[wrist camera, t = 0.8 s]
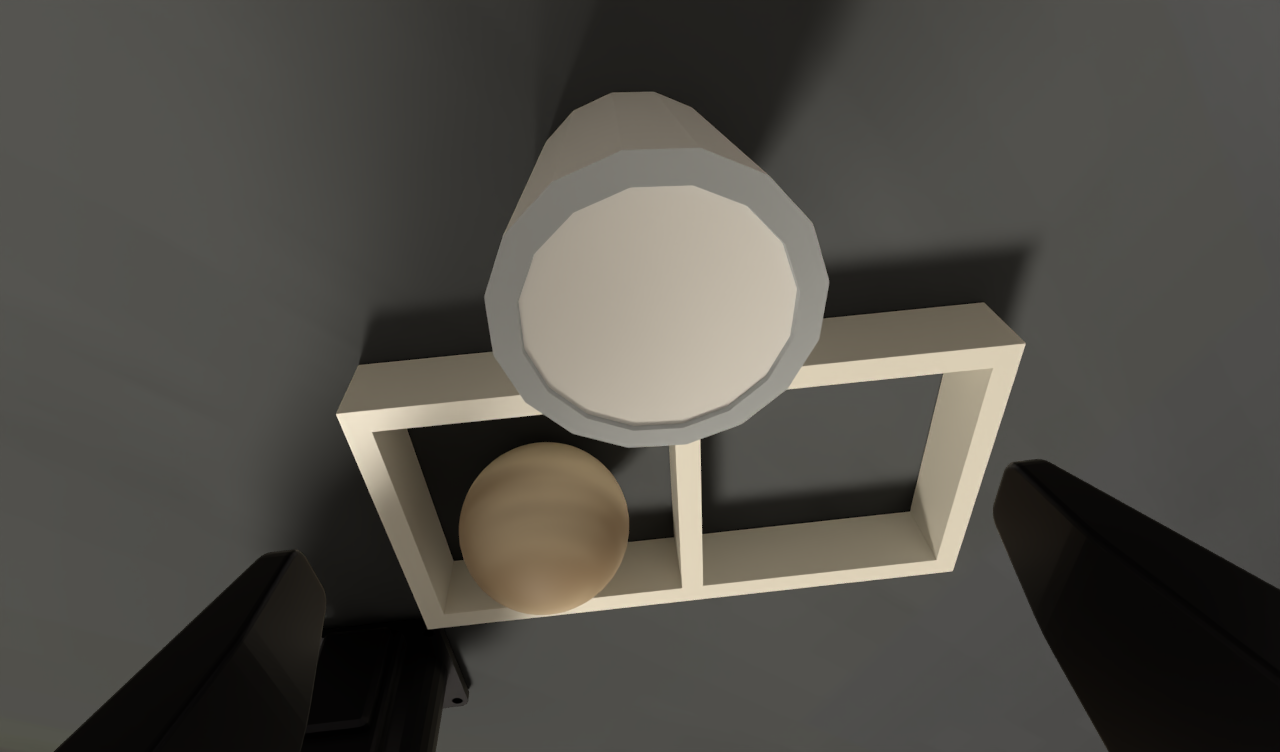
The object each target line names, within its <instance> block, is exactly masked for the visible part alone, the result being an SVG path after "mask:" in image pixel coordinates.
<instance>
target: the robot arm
mask: <svg viewBox="0 0 1280 752" xmlns="http://www.w3.org/2000/svg"><path fill="white" fill-rule="evenodd" d="M993 518H994V522H995V525H996V528H997V530H998V532H999V535H1000V537H1001V539H1002V542H1003V544H1004V546H1005V549H1006V551H1007V553H1008V556H1009V558H1010V560H1011V563H1012V565H1013V567H1014V570H1015V572H1016V574H1017V576H1018V579H1019V581H1020V583H1021V586H1022V588H1023V590H1024V593H1025V595H1026V597H1027V600H1028V602H1029V604H1030V607H1031V609H1032V611H1033V614H1034V616H1035V618H1036V620H1037V622H1038V624H1039V627H1040V629H1041V631H1042V633H1043V635H1044V637H1045V639H1046V641H1047V643H1048V644H1049V646H1050V648H1051V650H1052V652H1053V654H1054V655H1055V657H1056V659H1057V661H1058V663H1059V664H1060V666H1061V668H1062V670H1063V672H1064V673H1065V675H1066V677H1067V679H1068V680H1069V682H1070V684H1071V686H1072V688H1073V689H1074V691H1075V693H1076V695H1077V696H1078V698H1079V700H1080V702H1081V704H1082V705H1083V707H1084V709H1085V711H1086V712H1087V714H1088V716H1089V718H1090V720H1091V721H1092V723H1093V725H1094V727H1095V729H1096V730H1097V732H1098V734H1099V736H1100V737H1101V739H1102V741H1103V743H1104V745H1105V746H1106V748H1107V750H1108V752H1280V589H1278V588H1276V587H1274V586H1272V585H1271V584H1269V583H1267V582H1265V581H1263V580H1262V579H1260V578H1258V577H1256V576H1254V575H1253V574H1251V573H1249V572H1247V571H1245V570H1244V569H1242V568H1240V567H1238V566H1236V565H1234V564H1233V563H1231V562H1229V561H1227V560H1225V559H1224V558H1222V557H1220V556H1218V555H1216V554H1215V553H1213V552H1211V551H1209V550H1207V549H1206V548H1204V547H1202V546H1200V545H1198V544H1197V543H1195V542H1193V541H1191V540H1189V539H1188V538H1186V537H1184V536H1182V535H1180V534H1178V533H1177V532H1175V531H1173V530H1171V529H1169V528H1168V527H1166V526H1164V525H1162V524H1160V523H1159V522H1157V521H1155V520H1153V519H1151V518H1150V517H1148V516H1146V515H1144V514H1142V513H1141V512H1139V511H1137V510H1135V509H1133V508H1132V507H1130V506H1128V505H1126V504H1124V503H1122V502H1121V501H1119V500H1117V499H1115V498H1113V497H1112V496H1110V495H1108V494H1106V493H1104V492H1103V491H1101V490H1099V489H1097V488H1095V487H1094V486H1092V485H1090V484H1088V483H1086V482H1085V481H1083V480H1081V479H1079V478H1077V477H1076V476H1074V475H1072V474H1070V473H1068V472H1066V471H1065V470H1063V469H1061V468H1059V467H1057V466H1056V465H1054V464H1052V463H1050V462H1048V461H1046V460H1042V459H1034V460H1026V461H1017V462H1012V463H1010V464H1009V465H1008V466H1007V467H1006V468H1005V470H1004V473H1003V477H1002V480H1001V483H1000V486H999V489H998V492H997V495H996V499H995V502H994V505H993ZM325 610H326V595H325V591H324V589H323V586H322V585H321V583H320V581H319V579H318V578H317V576H316V574H315V572H314V571H313V569H312V567H311V565H310V564H309V562H308V560H307V559H306V557H305V555H304V554H303V553H302V552H300V551H299V550H286V551H277V552H270V553H266V554H264V555H262V556H261V557H260V558H258V559H257V560H256V561H255V562H254V563H253V564H252V565H251V566H250V567H249V568H248V569H247V570H245V571H244V572H243V573H242V574H241V575H240V576H239V577H238V578H237V579H236V580H235V581H234V582H233V583H232V584H231V585H230V586H229V587H227V588H226V589H225V590H224V591H223V592H222V593H221V594H220V595H219V596H218V597H217V598H216V599H215V600H214V601H213V602H212V603H211V604H209V605H208V606H207V607H206V608H205V609H204V610H203V611H202V612H201V613H200V614H199V615H198V616H197V617H196V618H195V619H194V620H193V621H191V622H190V623H189V624H188V625H187V626H186V627H185V628H184V629H183V630H182V631H181V632H180V633H179V634H178V635H177V636H176V637H175V638H173V639H172V640H171V641H170V642H169V643H168V644H167V645H166V646H165V647H164V648H163V649H162V650H161V651H160V652H159V653H158V654H157V655H155V656H154V657H153V658H152V659H151V660H150V661H149V662H148V663H147V664H146V665H145V666H144V667H143V668H142V669H141V670H140V671H138V672H137V673H136V674H135V675H134V676H133V677H132V678H131V679H130V680H129V681H128V682H127V683H126V684H125V685H124V686H123V687H122V688H120V689H119V690H118V691H117V692H116V693H115V694H114V695H113V696H112V697H111V698H110V699H109V700H108V701H107V702H106V703H105V704H104V705H102V706H101V707H100V708H99V709H98V710H97V711H96V712H95V713H94V714H93V715H92V716H91V717H90V718H89V719H88V720H87V721H86V722H84V723H83V724H82V725H81V726H80V727H79V728H78V729H77V730H76V731H75V732H74V733H73V734H72V735H71V736H70V737H69V738H68V739H66V740H65V741H64V742H63V743H62V744H61V745H60V746H59V747H58V748H57V749H56V750H55V751H54V752H436V746H437V740H438V734H439V728H440V722H441V715H442V709H443V708H449V707H458V706H463V705H465V704H467V702H468V697H469V691H468V688H467V686H466V683H465V681H464V678H463V676H462V673H461V671H460V668H459V666H458V663H457V661H456V658H455V656H454V654H453V651H452V649H451V646H450V644H449V641H448V639H447V636H446V634H445V631H444V629H443V628H437V629H427V626H426V624H425V622H424V619H417V620H408V621H399V622H390V623H381V624H372V625H363V626H354V627H345V628H336V629H327V630H323V623H324V617H325Z"/></svg>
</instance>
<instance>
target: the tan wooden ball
mask: <svg viewBox="0 0 1280 752" xmlns="http://www.w3.org/2000/svg"><path fill="white" fill-rule="evenodd" d="M628 536H629V515H628V509H627V504H626V501H625V498H624V495H623V493H622V490H621V488H620V486H619V484H618V483H617V481H616V480H615V478H614V476H613V475H612V474H611V472H610V471H609V470H608V469H607V468H606V467H605V466H604V465H603V464H602V463H601V462H600V461H599V460H598V459H596V458H595V457H593V456H592V455H590V454H589V453H587V452H585V451H583V450H581V449H579V448H576V447H574V446H571V445H567V444H562V443H555V442H539V443H531V444H527V445H523V446H519V447H517V448H514V449H512V450H510V451H508V452H506V453H504V454H502V455H501V456H499V457H498V458H496V459H495V460H494V461H492V462H491V463H490V464H489V465H488V466H487V467H486V468H485V469H484V470H483V471H482V472H481V473H480V474H479V476H478V477H477V478H476V480H475V481H474V482H473V484H472V486H471V487H470V489H469V491H468V493H467V495H466V498H465V500H464V503H463V506H462V510H461V515H460V522H459V540H460V547H461V552H462V555H463V559H464V562H465V564H466V566H467V568H468V570H469V573H470V575H471V576H472V577H473V579H474V580H475V582H476V583H477V584H478V586H479V587H480V588H481V589H482V590H483V591H484V592H485V593H486V594H487V595H488V596H490V597H491V598H492V599H493V600H495V601H496V602H498V603H499V604H501V605H503V606H505V607H507V608H510V609H512V610H515V611H517V612H521V613H526V614H533V615H551V614H557V613H562V612H566V611H569V610H571V609H574V608H576V607H578V606H580V605H582V604H584V603H586V602H588V601H589V600H590V599H592V598H593V597H594V596H596V595H597V594H598V593H599V592H600V591H602V590H603V589H604V588H605V586H606V585H607V584H608V583H609V582H610V580H611V579H612V578H613V577H614V575H615V573H616V571H617V570H618V568H619V566H620V564H621V562H622V559H623V557H624V554H625V551H626V548H627V542H628Z"/></svg>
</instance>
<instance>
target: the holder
mask: <svg viewBox="0 0 1280 752" xmlns="http://www.w3.org/2000/svg"><path fill="white" fill-rule="evenodd" d="M1025 344H1026V343H1025V342H1024V341H1023V340H1022V339H1021V338H1020V337H1019V336H1018V335H1017V334H1016V333H1015V332H1014V331H1013V330H1012V329H1011V328H1010V327H1009V326H1008V325H1007V324H1006V323H1005V322H1004V321H1003V320H1002V319H1001V318H1000V317H998V316H997V315H996V314H995V313H994V312H993V311H992V310H991V309H990V308H989V307H988V306H987V305H986V304H985V303H984V302H982V303H972V304H962V305H952V306H942V307H932V308H922V309H912V310H902V311H892V312H882V313H873V314H863V315H853V316H843V317H833V318H823V321H822V327H821V333H820V338H819V341H818V342H817V344H816V345H815V347H814V348H813V350H812V352H811V353H810V355H809V356H808V358H807V359H806V361H805V362H804V364H803V366H802V367H801V369H800V370H799V372H798V373H797V375H796V376H795V378H794V380H793V381H792V383H791V384H790V386H789V387H788V389H795V388H804V387H814V386H824V385H833V384H843V383H853V382H863V381H872V380H882V379H892V378H901V377H911V376H921V375H931V374H940V373H943V377H942V381H941V385H940V389H939V394H938V398H937V402H936V406H935V410H934V414H933V418H932V422H931V426H930V431H929V435H928V439H927V443H926V447H925V451H924V455H923V459H922V463H921V468H920V472H919V476H918V480H917V484H916V488H915V492H914V496H913V501H912V505H911V509H910V512H901V513H892V514H883V515H874V516H864V517H855V518H846V519H837V520H827V521H818V522H809V523H800V524H791V525H781V526H772V527H763V528H754V529H745V530H735V531H726V532H717V533H708V534H702V501H701V448H700V440H697V441H694V442H692V443H689V444H685V445H669V454H670V472H671V490H672V508H673V526H674V537H671V538H662V539H652V540H643V541H634V542H627V548H626V551H625V554H624V557H623V559H622V562H621V564H620V566H619V568H618V570H617V571H616V573H615V575H614V577H613V578H612V579H611V580H610V582H609V583H608V584H607V585H606V586H605V588H604V589H603V590H602V591H600V592H599V593H598V594H597V595H596V596H594V597H593V598H592V599H590V600H589V601H588V602H586V603H584V604H582V605H580V606H578V607H576V608H574V609H571V610H569V611H566V612H562V613H557V614H551V615H533V614H526V613H521V612H517V611H515V610H512V609H510V608H507V607H505V606H503V605H501V604H499V603H498V602H496V601H495V600H493V599H492V598H491V597H490V596H488V595H487V594H486V593H485V592H484V591H483V590H482V589H481V588H480V587H479V586H478V584H477V583H476V582H475V580H474V579H473V577H472V576H471V575H470V573H469V570H468V568H467V566H466V564H465V562H464V560H459V561H453V558H452V555H451V552H450V549H449V547H448V544H447V541H446V538H445V535H444V532H443V530H442V527H441V524H440V521H439V518H438V515H437V513H436V510H435V507H434V504H433V501H432V499H431V496H430V493H429V490H428V487H427V484H426V482H425V479H424V476H423V473H422V470H421V467H420V465H419V462H418V459H417V456H416V453H415V450H414V448H413V445H412V442H411V439H410V436H409V433H408V431H407V428H416V427H426V426H436V425H445V424H455V423H465V422H474V421H484V420H494V419H504V418H513V417H523V416H533V415H542V413H541V412H539V411H537V410H536V409H534V408H533V407H531V406H530V405H528V404H527V403H525V401H524V400H523V398H522V397H521V395H520V394H519V392H518V391H517V390H516V388H515V387H514V385H513V384H512V382H511V381H510V379H509V378H508V376H507V375H506V373H505V372H504V370H503V369H502V367H501V366H500V364H499V363H498V362H497V360H496V359H495V357H494V356H493V352H484V353H474V354H464V355H454V356H444V357H434V358H424V359H414V360H404V361H394V362H384V363H374V364H364V365H358V367H357V369H356V371H355V373H354V376H353V378H352V380H351V382H350V384H349V386H348V389H347V391H346V393H345V395H344V397H343V399H342V402H341V404H340V406H339V408H338V410H337V412H336V415H337V418H338V420H339V422H340V425H341V427H342V429H343V432H344V434H345V436H346V439H347V441H348V444H349V446H350V448H351V451H352V453H353V455H354V458H355V460H356V462H357V465H358V467H359V469H360V472H361V474H362V476H363V479H364V481H365V483H366V486H367V488H368V490H369V493H370V495H371V497H372V500H373V502H374V504H375V507H376V509H377V511H378V514H379V516H380V518H381V521H382V523H383V525H384V528H385V530H386V533H387V535H388V537H389V540H390V542H391V544H392V547H393V549H394V551H395V554H396V556H397V558H398V561H399V563H400V565H401V568H402V570H403V572H404V575H405V577H406V579H407V582H408V584H409V586H410V589H411V591H412V593H413V596H414V598H415V600H416V603H417V605H418V607H419V610H420V612H421V614H422V617H423V619H424V622H425V624H426V626H427V629H437V628H446V627H455V626H464V625H473V624H482V623H491V622H500V621H509V620H518V619H527V618H536V617H545V616H554V615H563V614H572V613H581V612H590V611H599V610H608V609H617V608H626V607H635V606H644V605H653V604H662V603H671V602H680V601H689V600H698V599H707V598H716V597H725V596H734V595H743V594H752V593H761V592H770V591H779V590H788V589H797V588H806V587H815V586H824V585H833V584H842V583H851V582H860V581H869V580H878V579H887V578H896V577H905V576H914V575H923V574H932V573H941V572H950V571H953V569H954V566H955V562H956V559H957V556H958V553H959V550H960V547H961V544H962V541H963V537H964V534H965V531H966V528H967V525H968V522H969V519H970V516H971V513H972V509H973V506H974V503H975V500H976V497H977V494H978V491H979V488H980V485H981V481H982V478H983V475H984V472H985V469H986V466H987V463H988V460H989V457H990V453H991V450H992V447H993V444H994V441H995V438H996V435H997V432H998V429H999V425H1000V422H1001V419H1002V416H1003V413H1004V410H1005V407H1006V404H1007V401H1008V397H1009V394H1010V391H1011V388H1012V385H1013V382H1014V379H1015V376H1016V373H1017V369H1018V366H1019V363H1020V360H1021V357H1022V354H1023V351H1024V348H1025Z"/></svg>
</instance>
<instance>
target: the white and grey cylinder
mask: <svg viewBox="0 0 1280 752" xmlns="http://www.w3.org/2000/svg"><path fill="white" fill-rule="evenodd" d="M828 288H829V278H828V275H827V271H826V268H825V264H824V261H823V257H822V254H821V250H820V246H819V243H818V239H817V236H816V232H815V229H814V225H813V223H812V222H811V221H810V220H809V219H808V217H807V216H806V215H805V214H804V213H803V212H802V211H801V210H800V209H799V208H798V207H797V206H796V204H795V203H794V202H793V201H792V200H791V199H790V198H789V197H788V196H787V195H786V194H785V192H784V191H783V190H782V189H781V188H780V187H779V186H778V185H777V184H776V183H775V182H774V180H773V179H772V178H771V177H770V176H769V175H768V174H767V173H766V172H765V171H763V170H762V169H761V168H760V167H759V166H758V165H757V164H755V163H754V162H753V161H752V160H751V159H750V158H749V157H748V156H746V155H745V154H744V153H743V152H742V151H741V150H740V149H738V148H737V147H736V146H735V145H734V144H733V143H732V142H731V141H729V140H728V139H727V138H726V137H725V136H724V135H723V134H721V133H720V132H719V131H718V130H717V129H716V128H715V127H714V126H712V125H711V124H710V123H709V122H708V121H707V120H706V119H705V118H703V117H702V116H701V115H700V114H699V113H698V112H697V111H695V110H694V109H693V108H692V107H690V106H687V105H685V104H683V103H680V102H678V101H675V100H673V99H671V98H668V97H666V96H663V95H661V94H659V93H656V92H613V93H610V94H607V95H605V96H603V97H601V98H599V99H597V100H595V101H592V102H590V103H588V104H586V105H584V106H582V107H580V108H578V109H575V110H573V111H572V112H571V114H570V115H569V116H568V117H567V118H566V119H565V120H564V122H563V123H562V124H561V125H560V126H559V127H558V128H557V130H556V131H555V132H554V133H553V134H552V135H551V136H550V138H549V139H548V140H547V141H546V142H545V145H544V147H543V149H542V151H541V153H540V156H539V158H538V160H537V162H536V164H535V167H534V169H533V171H532V173H531V175H530V178H529V180H528V182H527V184H526V186H525V188H524V191H523V193H522V195H521V197H520V199H519V202H518V204H517V206H516V208H515V210H514V213H513V215H512V217H511V219H510V221H509V223H508V226H507V228H506V230H505V232H504V234H503V237H502V241H501V244H500V247H499V250H498V253H497V257H496V260H495V263H494V266H493V270H492V273H491V276H490V279H489V283H488V286H487V289H486V292H485V295H484V300H485V306H486V312H487V319H488V325H489V331H490V338H491V344H492V350H493V356H494V357H495V359H496V360H497V362H498V363H499V364H500V366H501V367H502V369H503V370H504V372H505V373H506V375H507V376H508V378H509V379H510V381H511V382H512V384H513V385H514V387H515V388H516V390H517V391H518V392H519V394H520V395H521V397H522V398H523V400H524V401H525V403H527V404H528V405H530V406H531V407H533V408H534V409H536V410H537V411H539V412H541V413H542V414H544V415H545V416H547V417H548V418H550V419H551V420H553V421H554V422H556V423H557V424H559V425H560V426H562V427H563V428H565V429H566V430H568V431H569V432H571V433H572V434H576V435H580V436H584V437H587V438H591V439H595V440H599V441H603V442H607V443H611V444H615V445H619V446H623V447H627V448H633V447H651V446H668V445H685V444H689V443H692V442H694V441H697V440H700V439H703V438H705V437H708V436H711V435H713V434H716V433H719V432H722V431H724V430H727V429H730V428H732V427H735V426H738V425H741V424H742V423H744V422H745V421H746V420H748V419H749V418H750V417H751V416H753V415H754V414H755V413H757V412H758V411H759V410H761V409H762V408H763V407H764V406H766V405H767V404H768V403H770V402H771V401H772V400H773V399H775V398H776V397H777V396H779V395H780V394H781V393H782V392H784V391H785V390H786V389H788V387H789V386H790V384H791V383H792V381H793V380H794V378H795V376H796V375H797V373H798V372H799V370H800V369H801V367H802V366H803V364H804V362H805V361H806V359H807V358H808V356H809V355H810V353H811V352H812V350H813V348H814V347H815V345H816V344H817V342H818V341H819V338H820V333H821V327H822V321H823V316H824V310H825V304H826V299H827V293H828Z"/></svg>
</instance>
